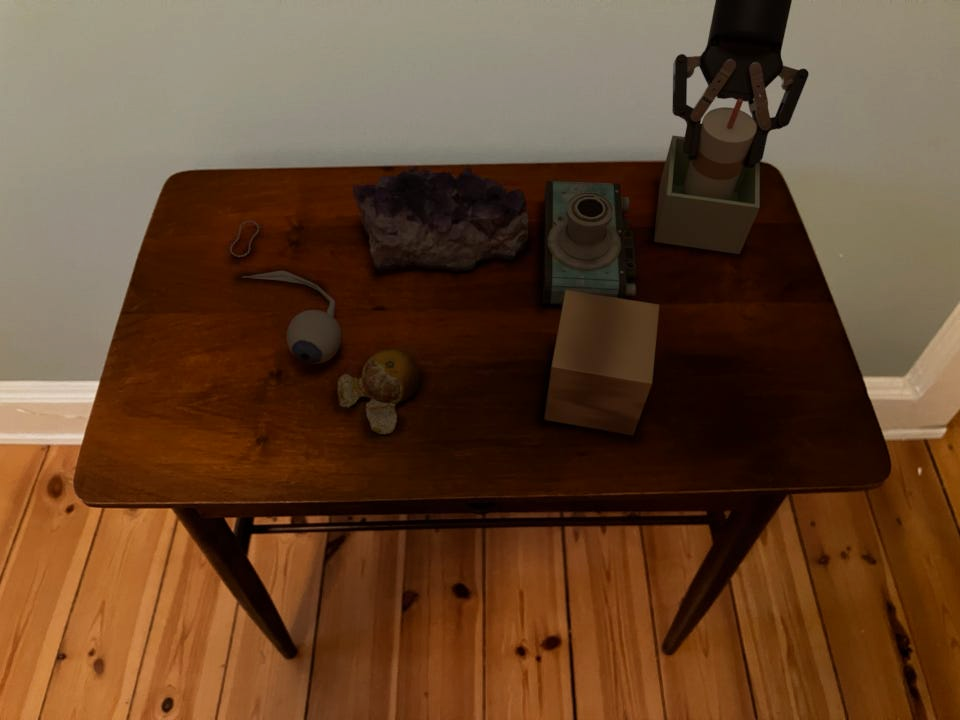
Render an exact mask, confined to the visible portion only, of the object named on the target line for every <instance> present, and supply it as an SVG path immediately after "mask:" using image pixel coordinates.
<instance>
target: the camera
mask: <svg viewBox="0 0 960 720" xmlns="http://www.w3.org/2000/svg"><path fill="white" fill-rule="evenodd" d="M543 206H544V207H543V256H542V257H543V260H542V261H543V262H542V263H543V264H542V304H543V305H558V306H559V305H561V306H563V301H564V295H565V291H566V290H569V291H576V292H582V293H588V294H595V295H601V296H608V297H614V298H620V299H626V298H625V297H635V296H636V293H637V285H636V283H634V282H635V281H636V278H637V264H636V263H637V262H636V252H635V237H634V236H635V235H634V229H630V225H629V218H628V217H623V214H628V213H629V209H630V197H629V196H623V195H622V187H621V183H617V182H616V183H615V182H614V183H606V182H586V181H585V182H584V181H581V182H580V181H557V180H546V181H545V188H544V200H543Z"/></svg>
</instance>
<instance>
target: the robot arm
mask: <svg viewBox="0 0 960 720" xmlns="http://www.w3.org/2000/svg"><path fill="white" fill-rule="evenodd" d="M792 2H793V0H715V2H714V5H713V7H714V8H713V12H712V17H711V22H710V27H709V33H708V38H707V43H706V46H705V48H704V50H703V52H702V53H701V55H693V56H691V55H689V56H687V55H686V54H684V53H680V54H678V55H677V56H676V58H675V59H674V61H673V64H672V108H671V109H672V110H671V111H672V115H674V116H675V117H679V118H680V119H682V120H684V122H685V123H686V128H685V133H684V137H685V138H684V143H683V148H682V149H683V153H684V154H687V160H695V158H696V153H697V148H698V143H699V138H700V133H701V127H702V119H703V118H704V116H705V115H706V112H707V111H708V109H709V108H710V107H711V105H712V103H713V102H714V101H715V99H721V100H726V99H734V100H736V101H737V100H738V99H742V100H743V102H745V103H747V105H748V109H749V113H750V115H751V117H752V118H753V119H754V121H755V123H756V126H757V130H756V133H755V136H754V139H753V141H752V144H751V146H750V149H749V153H748V156H747V158H746V161H745V166H744V167H745V168H754V166H755V163H760V164H761V161H762V159H763V158H764V153H765V149H766V146H767V145H766V144H767V140H768V135H769V133H770V132H771V131H774V130H780V129H782V128H785V127H787V126H789V124H790V123H791V120H792V118H793V115H794V112H795V111H796V109H797V108H796V107H797V105H798V103H799V100H800V99H801V96H802V93H803V90H804V88H805V86H806V84H807V80H808V78H809V71H808V69H806V68H800V69H796V68H793V67H790V66H787V65H784V62H783V58H782V49H783V48H782V47H783V44H784V41H785V40H784V39H785V36H786V35H785V34H786V29H787V25H788V20H789V15H790V13H791V7H792ZM696 68H699V69H700V71H701V74H702V76H703V77H704V80H705V82H706V84H707V87H706V88H705V90H704V92H703V93H702V95H701V96H700V97H699V99H698V101H697V102H696V104H695V106H694V107H692V106H689V104H687V102H688V99H687V96H688V79H690V78H691V77H693V75H694V73H695V69H696ZM778 77H779V78H780V80H781V83H780V86H781V89H782V90H783V91H784V93H783V96H782V98H781V101H780V103H779V105H778V108H777V111H776V113H775V116H772V117H771V115H770V111H769V100H768V95H767V90H766V88H767V87H768V86H770V84H771V83H772V82H774V80H775V79H776V78H778Z"/></svg>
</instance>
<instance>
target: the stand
mask: <svg viewBox="0 0 960 720" xmlns="http://www.w3.org/2000/svg"><path fill="white" fill-rule="evenodd" d="M659 314H660V304H659V303H658V304H657V303H652V302H645V301H639V300H632V299H626V298H624V299H620V298H614V297H608V296H601V295H595V294H588V293H582V292H576V291H569V290H566V291H565V295H564V301H563V305H561V312H560V317H559V323H558V328H557V334H556V340H555V345H554V351H553V355H552V362H551V368H550V374H549V382H548V389H547V395H546V402H545V403H546V404H545V410H544V417H543V420H544V421H549V422H554V423H561V424H565V425H570V426H576V427H577V426H578V427H583V428H588V429H594V430H600V431H605V432H610V433H617V434H622V435H627V436H634V435H635V432H636V429H637V426H638V423H639V421H640V419H641V416H642V412H643V410H644V407H645V404H646V402H647V399H648V397H649V394H650V391H651V388H652V385H653V379H654V368H655V358H656V347H657V336H658V326H659V317H660V315H659Z"/></svg>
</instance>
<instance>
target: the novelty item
mask: <svg viewBox="0 0 960 720" xmlns="http://www.w3.org/2000/svg"><path fill="white" fill-rule="evenodd" d="M241 278H242V279H256V280H269V281H270V280H271V281H272V280H273V281H281V282H285V283H286V282H287V283H294V284H301V285H304V286H307V287H309V288H312V289H314V290H315V291H318V292H319V293H320V294H321V295H322V296H323V297H324V298H325V299H327V301H328V302H329V304H328V307H327V310H326V311H323V310H319V309H306V310H303V311H301V312H299V313H298V314H296V315H295V316H294V318H293V319H292V320H291V321H290V323H289V324H288V327H287V330H286V345H287V347H288V350H289V351H290V353H291V354H292V355H293V356H294V357H295V358H296V359H298V360H299V361H301V362H304V363H307V364H311V365H318V364H323V363H327V362H329V361H330V360H332V359H333V358H334V357H335V355H336V354H337V353H338V351H339V349H340V347H341V344H342V337H343V335H342V334H343V333H342V328H341V326H340V323H339V321H337V319H336V318H335V310H336V300H335V299H334V298H333V297H331V296H330V294H328V293H327V292H326V291H324V290H323V289H322V288H321V287H320V286H319V285H318V284H316V283H314V282H312V281H309V280H307V279H306V278H302V277H301V276H298V275H296V274H293V273H291V272H288V271H286V270H277V271H276V270H275V271H271V272H265V273H259V274H252V275H245V276H242V277H241Z"/></svg>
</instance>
